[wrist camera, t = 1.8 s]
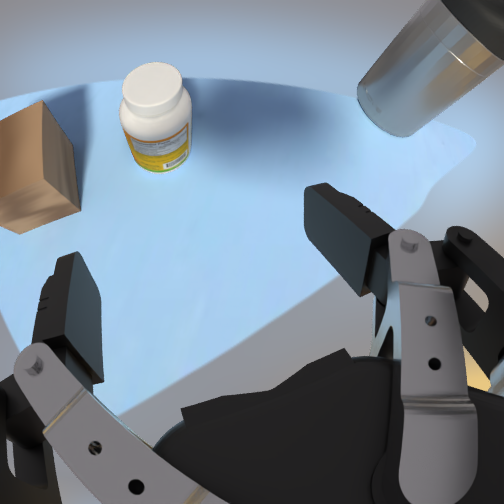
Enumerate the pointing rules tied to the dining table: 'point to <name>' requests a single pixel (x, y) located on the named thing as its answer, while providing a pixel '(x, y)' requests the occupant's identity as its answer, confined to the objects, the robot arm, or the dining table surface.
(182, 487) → the robot arm
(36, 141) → the walnut block
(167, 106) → the supplement bottle
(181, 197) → the dining table surface
